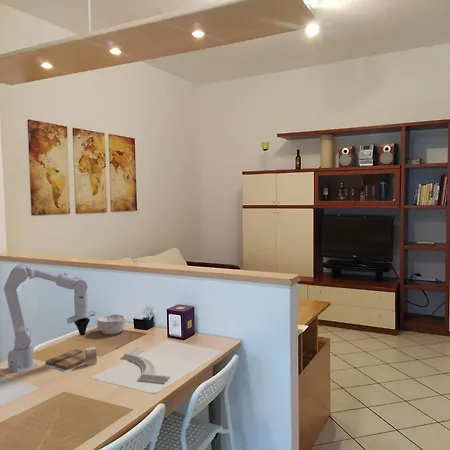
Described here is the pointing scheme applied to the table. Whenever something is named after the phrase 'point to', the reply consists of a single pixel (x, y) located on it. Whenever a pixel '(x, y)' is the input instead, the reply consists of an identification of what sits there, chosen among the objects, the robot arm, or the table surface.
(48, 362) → the laid plank
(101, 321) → the paper bowls
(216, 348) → the table surface
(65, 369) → the underlay
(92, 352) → the block
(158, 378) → the molding
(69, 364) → the board
